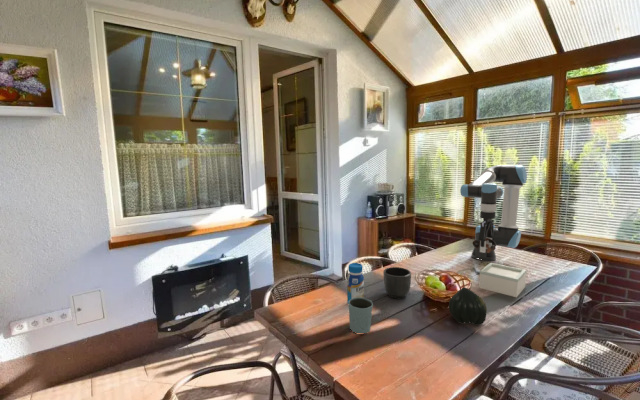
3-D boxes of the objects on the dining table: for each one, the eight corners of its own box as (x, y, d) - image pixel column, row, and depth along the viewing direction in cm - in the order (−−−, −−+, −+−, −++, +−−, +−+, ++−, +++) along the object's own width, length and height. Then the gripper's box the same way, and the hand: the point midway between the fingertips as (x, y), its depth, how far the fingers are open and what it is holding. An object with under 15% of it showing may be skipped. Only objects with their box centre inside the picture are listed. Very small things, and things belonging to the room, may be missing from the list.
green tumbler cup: (348, 323, 140) (347, 297, 139) (371, 323, 140) (371, 297, 138) (349, 336, 130) (349, 308, 129) (374, 336, 130) (374, 308, 128)
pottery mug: (488, 248, 187) (495, 238, 182) (492, 260, 179) (500, 249, 175) (468, 243, 187) (474, 233, 183) (471, 254, 180) (478, 244, 175)
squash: (485, 323, 128) (486, 287, 135) (445, 316, 135) (448, 282, 142) (486, 332, 138) (487, 298, 145) (449, 325, 145) (452, 293, 153)
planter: (383, 288, 175) (383, 266, 173) (409, 290, 172) (410, 267, 170) (383, 300, 162) (383, 275, 160) (411, 302, 159) (412, 277, 157)
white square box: (489, 278, 187) (490, 262, 186) (525, 286, 175) (526, 269, 173) (478, 287, 174) (479, 270, 173) (516, 297, 162) (517, 279, 161)
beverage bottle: (352, 298, 164) (352, 261, 161) (367, 302, 159) (367, 264, 157) (343, 304, 157) (343, 265, 155) (359, 309, 153) (358, 269, 150)
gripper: (487, 208, 188) (485, 245, 191) (473, 212, 174) (471, 253, 177) (501, 209, 183) (499, 248, 186) (488, 214, 168) (485, 256, 171)
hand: (485, 250), depth 181 cm, fingers closed on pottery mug, 9 cm apart
